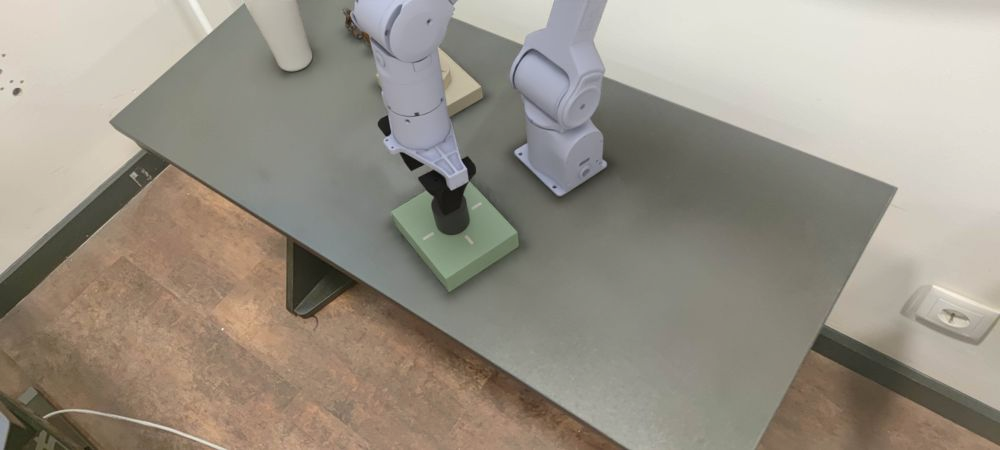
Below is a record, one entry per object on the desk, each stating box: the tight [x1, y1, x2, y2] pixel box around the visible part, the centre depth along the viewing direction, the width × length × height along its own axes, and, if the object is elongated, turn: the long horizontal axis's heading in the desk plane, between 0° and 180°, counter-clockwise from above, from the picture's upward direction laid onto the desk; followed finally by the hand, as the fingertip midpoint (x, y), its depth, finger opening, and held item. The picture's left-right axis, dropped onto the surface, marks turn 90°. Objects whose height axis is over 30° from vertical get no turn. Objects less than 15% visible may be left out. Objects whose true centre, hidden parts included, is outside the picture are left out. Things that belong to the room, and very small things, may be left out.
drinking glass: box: [243, 0, 313, 72], centre depth 99 cm, size 7×7×15 cm
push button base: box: [375, 46, 484, 118], centre depth 97 cm, size 12×10×4 cm
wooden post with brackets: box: [341, 6, 373, 53], centre depth 106 cm, size 2×8×4 cm, turn 44°
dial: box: [431, 195, 470, 235], centre depth 80 cm, size 4×4×4 cm
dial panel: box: [390, 180, 520, 293], centre depth 83 cm, size 12×10×3 cm
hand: (433, 187), depth 77 cm, fingers open, 7 cm apart
